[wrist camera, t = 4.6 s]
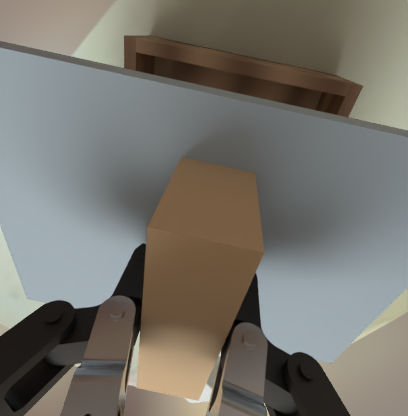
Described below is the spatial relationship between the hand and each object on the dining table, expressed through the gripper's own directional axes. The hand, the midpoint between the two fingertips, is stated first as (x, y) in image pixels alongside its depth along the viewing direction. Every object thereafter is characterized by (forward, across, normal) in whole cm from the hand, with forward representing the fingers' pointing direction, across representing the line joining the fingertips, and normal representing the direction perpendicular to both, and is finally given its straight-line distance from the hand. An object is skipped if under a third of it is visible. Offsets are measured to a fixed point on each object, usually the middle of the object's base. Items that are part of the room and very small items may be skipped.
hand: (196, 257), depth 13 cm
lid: (+1, 0, 0) cm, 1 cm away
